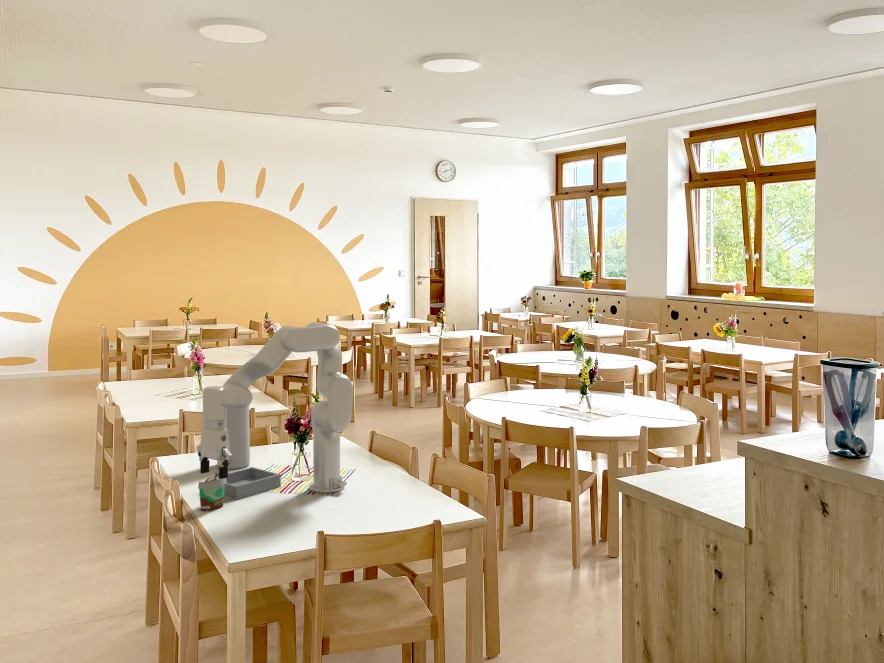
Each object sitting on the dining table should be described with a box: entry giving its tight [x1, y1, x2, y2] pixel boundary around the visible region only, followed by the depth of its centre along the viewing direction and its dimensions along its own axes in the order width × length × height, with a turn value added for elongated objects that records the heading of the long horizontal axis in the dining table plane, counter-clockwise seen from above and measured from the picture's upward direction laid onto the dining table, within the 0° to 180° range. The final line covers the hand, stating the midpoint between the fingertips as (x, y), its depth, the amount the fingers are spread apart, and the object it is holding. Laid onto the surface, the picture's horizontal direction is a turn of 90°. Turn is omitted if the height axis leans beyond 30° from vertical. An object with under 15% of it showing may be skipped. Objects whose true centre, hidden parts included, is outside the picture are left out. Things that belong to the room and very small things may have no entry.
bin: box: [224, 466, 282, 500], centre depth 282 cm, size 16×20×4 cm
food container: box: [197, 472, 227, 512], centre depth 261 cm, size 12×6×10 cm, turn 168°
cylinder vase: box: [216, 405, 251, 470], centre depth 311 cm, size 12×12×25 cm
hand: (214, 475), depth 260 cm, fingers open, 9 cm apart
